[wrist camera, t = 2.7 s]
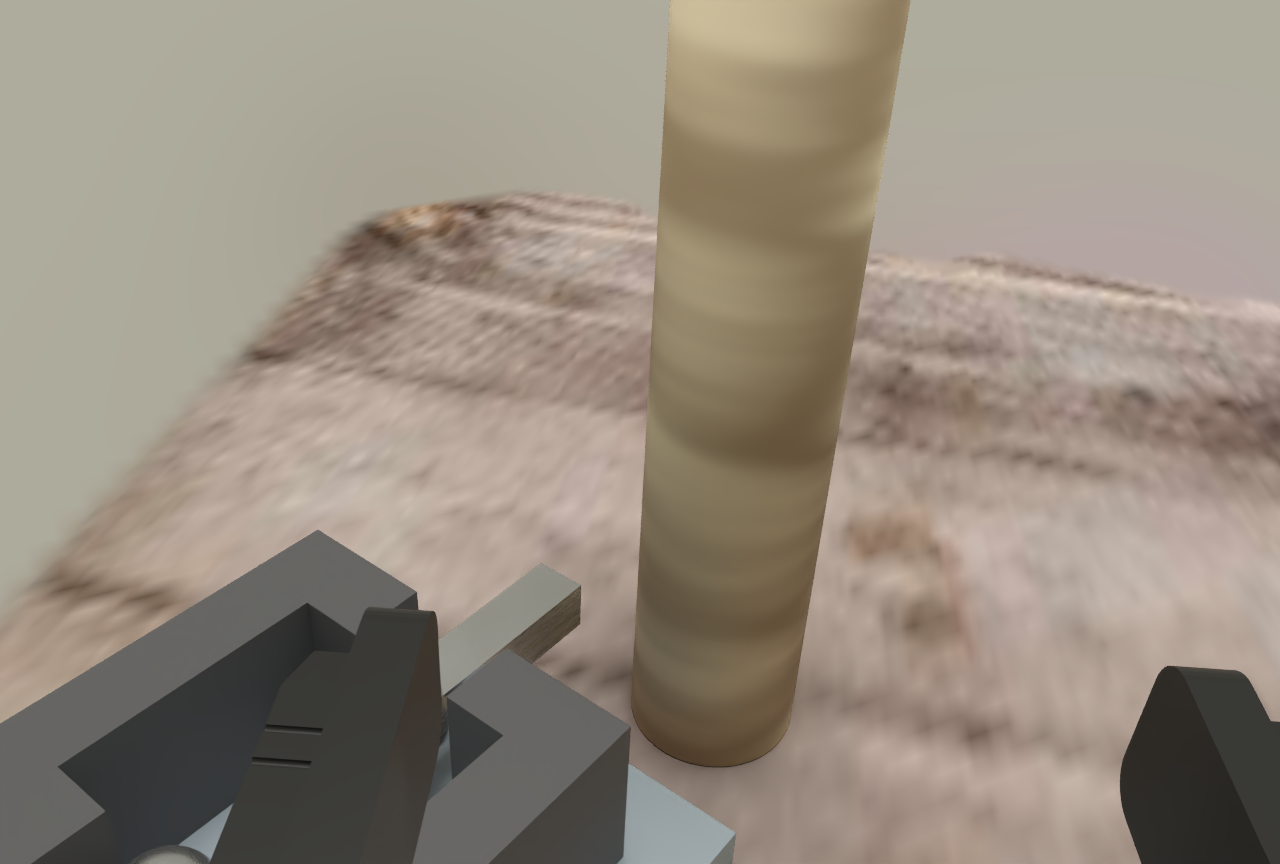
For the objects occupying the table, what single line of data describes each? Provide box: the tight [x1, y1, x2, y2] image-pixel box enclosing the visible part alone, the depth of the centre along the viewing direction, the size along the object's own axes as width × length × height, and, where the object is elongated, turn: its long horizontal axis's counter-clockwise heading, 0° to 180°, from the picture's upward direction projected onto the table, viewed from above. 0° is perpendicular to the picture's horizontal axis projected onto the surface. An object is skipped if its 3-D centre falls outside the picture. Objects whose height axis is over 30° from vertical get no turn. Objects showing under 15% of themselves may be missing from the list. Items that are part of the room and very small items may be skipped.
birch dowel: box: [631, 0, 910, 767], centre depth 25 cm, size 4×4×18 cm
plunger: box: [438, 563, 581, 752], centre depth 26 cm, size 6×2×2 cm, turn 142°
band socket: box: [0, 530, 736, 864], centre depth 23 cm, size 13×12×5 cm
